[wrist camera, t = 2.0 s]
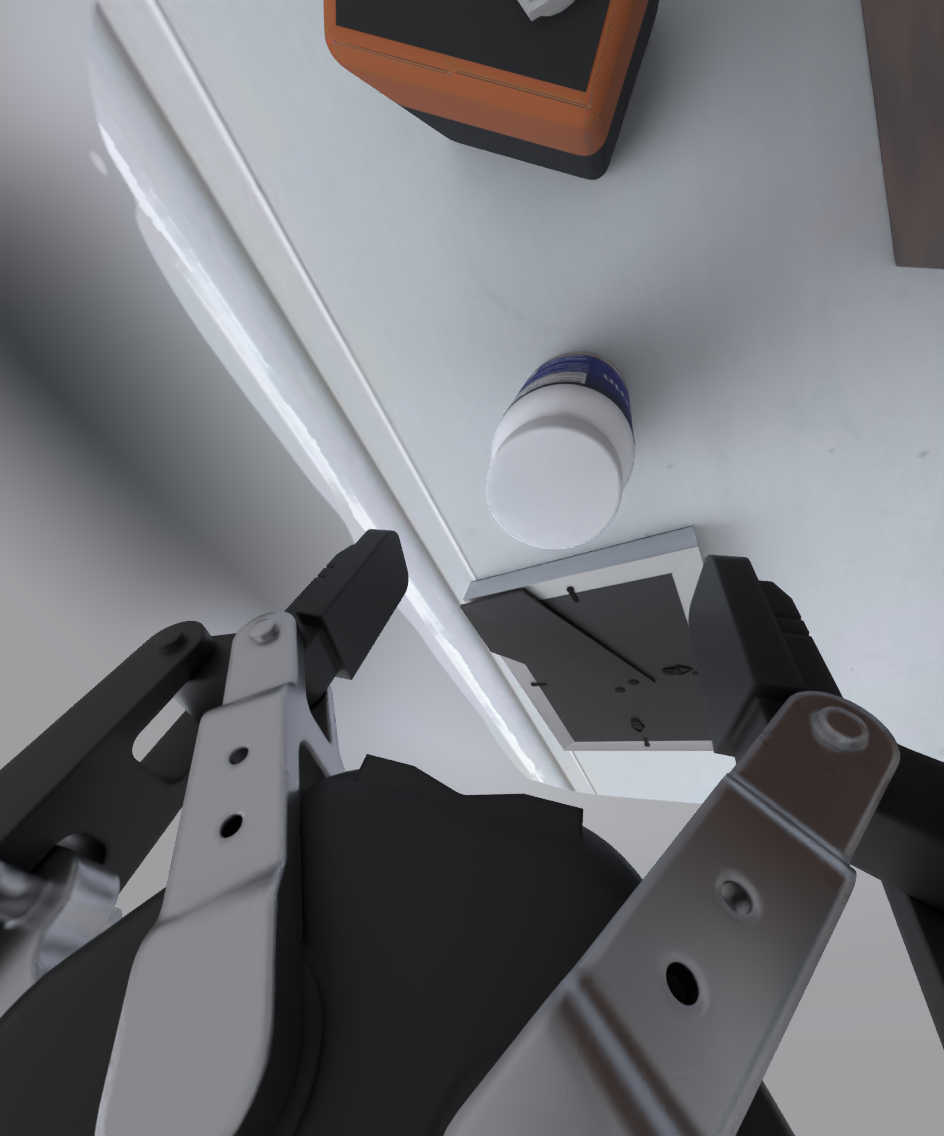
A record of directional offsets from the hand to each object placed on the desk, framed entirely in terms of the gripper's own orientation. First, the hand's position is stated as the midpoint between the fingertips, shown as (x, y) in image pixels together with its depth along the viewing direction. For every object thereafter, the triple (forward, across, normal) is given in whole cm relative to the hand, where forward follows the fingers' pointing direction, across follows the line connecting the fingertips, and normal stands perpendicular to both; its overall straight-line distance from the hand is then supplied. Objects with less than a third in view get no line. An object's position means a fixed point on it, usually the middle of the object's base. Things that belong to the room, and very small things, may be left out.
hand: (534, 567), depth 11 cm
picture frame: (+14, -4, +19) cm, 24 cm away
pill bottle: (+14, 0, 0) cm, 14 cm away
